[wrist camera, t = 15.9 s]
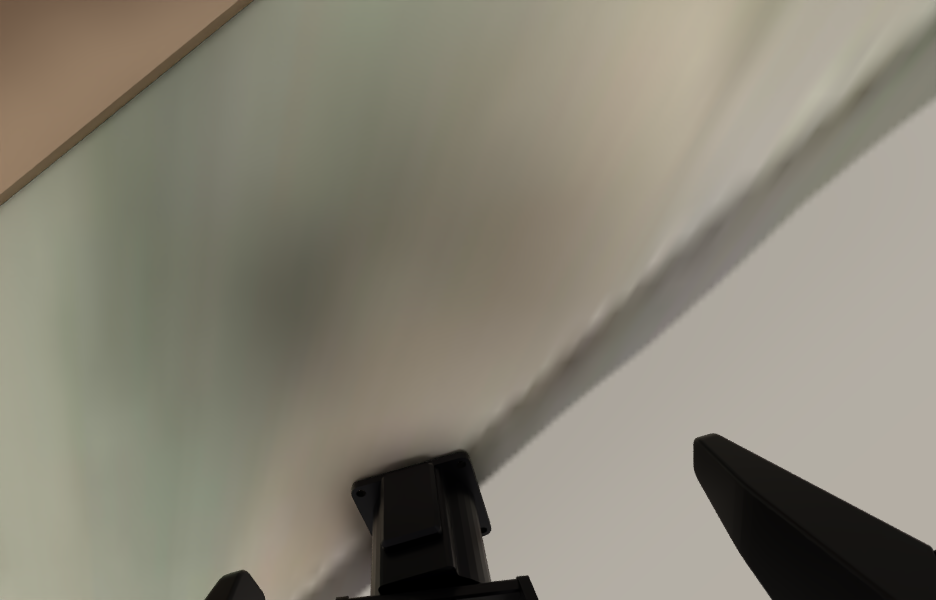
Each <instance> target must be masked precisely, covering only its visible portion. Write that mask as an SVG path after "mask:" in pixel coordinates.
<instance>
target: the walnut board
mask: <svg viewBox="0 0 936 600" xmlns="http://www.w3.org/2000/svg"><path fill="white" fill-rule="evenodd" d="M252 1H253V0H0V205H2V204H3V203H4V202H5V201H7V200H8V199H9V198H10V197H12V196H13V195H14V194H15V193H17V192H18V191H19V190H20V189H21V188H23V187H24V186H25V185H26V184H28V183H29V182H30V181H31V180H33V179H34V178H35V177H36V176H37V175H39V174H40V173H41V172H42V171H44V170H45V169H46V168H47V167H49V166H50V165H51V164H52V163H53V162H55V161H56V160H57V159H58V158H60V157H61V156H62V155H63V154H65V153H66V152H67V151H68V150H69V149H71V148H72V147H73V146H74V145H76V144H77V143H78V142H79V141H81V140H82V139H83V138H84V137H86V136H87V135H88V134H89V133H90V132H92V131H93V130H94V129H95V128H97V127H98V126H99V125H100V124H102V123H103V122H104V121H105V120H106V119H108V118H109V117H110V116H111V115H113V114H114V113H115V112H116V111H118V110H119V109H120V108H121V107H122V106H124V105H125V104H126V103H127V102H129V101H130V100H131V99H132V98H134V97H135V96H136V95H137V94H139V93H140V92H141V91H142V90H143V89H145V88H146V87H147V86H148V85H150V84H151V83H152V82H153V81H155V80H156V79H157V78H158V77H159V76H161V75H162V74H163V73H164V72H166V71H167V70H168V69H169V68H171V67H172V66H173V65H174V64H175V63H177V62H178V61H179V60H180V59H182V58H183V57H184V56H185V55H187V54H188V53H189V52H190V51H191V50H193V49H194V48H195V47H196V46H198V45H199V44H200V43H201V42H203V41H204V40H205V39H206V38H208V37H209V36H210V35H211V34H212V33H214V32H215V31H216V30H217V29H219V28H220V27H221V26H222V25H224V24H225V23H226V22H227V21H228V20H230V19H231V18H232V17H233V16H235V15H236V14H237V13H238V12H240V11H241V10H242V9H243V8H244V7H246V6H247V5H248V4H249V3H251V2H252Z"/></svg>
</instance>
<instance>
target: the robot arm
mask: <svg viewBox="0 0 936 600" xmlns="http://www.w3.org/2000/svg"><path fill="white" fill-rule="evenodd" d="M693 449H694V451H693V452H694V453H693V462H694V463H693V464H694V471H695V474H696V477H697V479H698V481H699V483H700V484H701V486H702V488H703V490H704V491H705V493H706V495H707V497H708V499H709V500H710V502H711V504H712V506H713V507H714V509H715V511H716V513H717V514H718V516H719V518H720V520H721V522H722V523H723V525H724V527H725V529H726V530H727V532H728V534H729V536H730V538H731V539H732V541H733V543H734V544H735V546H736V548H737V549H738V551H739V553H740V554H741V556H742V557H743V559H744V560H745V562H746V563H747V565H748V566H749V568H750V569H751V571H752V572H753V573H754V575H755V576H756V578H757V579H758V581H759V582H760V583H761V585H762V586H763V588H764V589H765V590H766V592H767V593H768V595H769V596H770V598H771V599H772V600H936V550H934V551H933V549H932V547H931V546H929V545H927V544H925V543H923V542H921V541H920V540H918V539H916V538H914V537H912V536H910V535H908V534H906V533H904V532H902V531H900V530H899V529H897V528H894V527H893V526H891V525H889V524H887V523H885V522H884V521H882V520H880V519H877V518H876V517H874V516H872V515H870V514H868V513H866V512H864V511H863V510H860V509H859V508H857V507H855V506H853V505H851V504H849V503H847V502H846V501H844V500H842V499H840V498H838V497H836V496H834V495H832V494H830V493H828V492H827V491H825V490H823V489H821V488H819V487H817V486H815V485H813V484H811V483H809V482H808V481H806V480H803V479H802V478H800V477H798V476H796V475H794V474H792V473H791V472H789V471H787V470H785V469H783V468H781V467H779V466H777V465H775V464H773V463H772V462H770V461H767V460H766V459H764V458H762V457H760V456H758V455H756V454H754V453H753V452H751V451H749V450H747V449H745V448H743V447H741V446H739V445H737V444H735V443H734V442H732V441H730V440H728V439H726V438H724V437H722V436H720V435H718V434H714V433H713V434H708V435H704V436H701V437H697V438H696V439H695V440H694V444H693ZM460 461H463V462H461V463H458V462H460ZM359 490H364V491H359ZM351 494H352V498H353V499H354V501H355V503H356V505H357V507H358V509H359V511H360V513H361V515H362V517H363V519H364V521H365V523H366V525H367V527H368V529H369V531H370V533H371V535H372V563H371V596H365V597H356V598H349V596H345V597H336V600H538V597H537V595H536V593H535V590H534V588H533V585H532V583H531V581H530V579H529V576H519V577H516V579H511V580H504V581H494V582H491V579H490V574H489V569H488V564H487V559H486V554H485V549H484V544H483V539H482V536H485V535H487V534H489V533H490V531H491V525H490V521H489V518H488V515H487V511H486V508H485V505H484V502H483V499H482V495H481V492H480V489H479V486H478V483H477V479H476V476H475V473H474V470H473V467H472V464H471V460H470V457H469V455H468V454H467V453H465V452H458V453H455V454H451V455H448V456H444V457H441V458H437V459H434V460H430V461H427V462H423V463H420V464H416V465H413V466H409V467H406V468H403V469H399V470H396V471H392V472H389V473H385V474H382V475H378V476H375V477H371V478H368V479H364V480H361V481H358V482H355V483H354V484H353V486H352V491H351ZM205 600H265V596H264V594H263V592H262V590H261V589H260V588H259V586H258V585H257V583H256V582H255V581H254V579H253V578H252V577H251V575H250V574H249V573H248V572H247V571H245V570H240V571H237V572H233V573H230V574H227V575H224V576H223V577H222V578H221V579H220V580H219V581H218V582H217V583H216V585H215V586H214V588H213V589H212V590H211V592H210V593H209V594H208V596H207V597H206V598H205Z"/></svg>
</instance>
